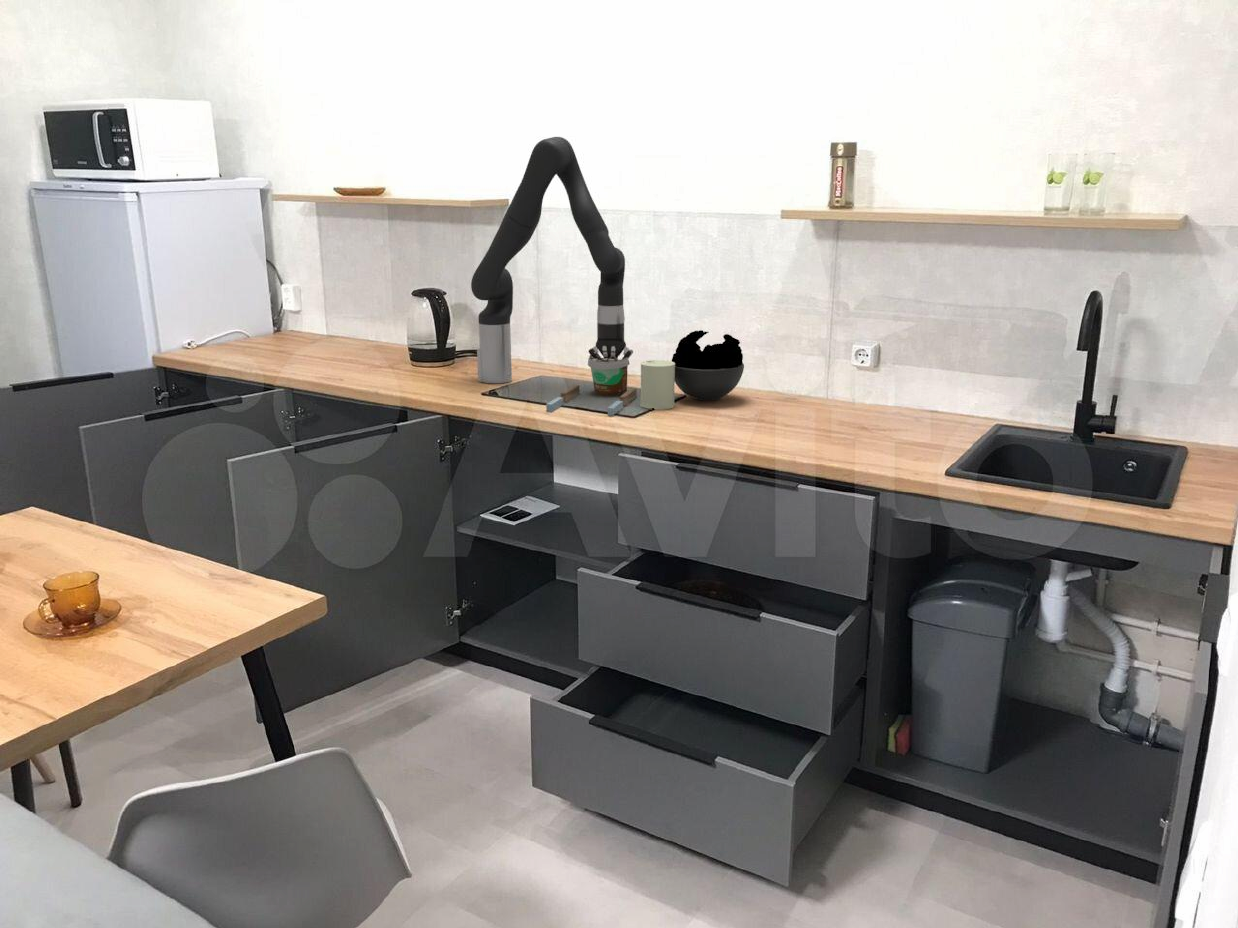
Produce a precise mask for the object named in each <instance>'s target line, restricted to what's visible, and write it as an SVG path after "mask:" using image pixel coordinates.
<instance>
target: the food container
mask: <svg viewBox="0 0 1238 928" xmlns="http://www.w3.org/2000/svg"><path fill="white" fill-rule="evenodd" d="M621 359H622V358H621ZM621 359H619V358H618V359H614V358H603V357H601V358H593V357H592V355H590V354H589V356H588V359H587V360H588V361H587V366H588V367H589V368H590V370H591V372H590V373H591V377H592V381H593V388H594V392H595V394H597V395H599V394H600V395H599V396H605V395H611V396H617V395H618V396H619V395H621V394H622V395H623V394H624V393H626V392H627V391H628V370H629V369H628V368H629V365H630V360H629V359H630V358H629V359H628V357H627V358H625V359H622V360H621Z"/></svg>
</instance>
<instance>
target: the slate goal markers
mask: <svg viewBox="0 0 1238 928" xmlns="http://www.w3.org/2000/svg"><path fill="white" fill-rule="evenodd" d="M562 406H564V403H563V397H561V396H557V397H556V398H554V399H553V400H551V401H549V402H547V403H546V410H545V411H546V412H547V413H553V412H554V411H556V410H558V409H559V408H560V407H562ZM622 408H623V409H624V406H623V401H620V400H616V401H615V402H614V403H613V404H611V405H610V406H608V407H607V416H608V417H614V416H615V415H614V414H615V413H617V412H618V411H619V412H620V411H622V410H623V409H622ZM621 409H622V410H621ZM619 412H618V413H619ZM618 413H617V414H618Z"/></svg>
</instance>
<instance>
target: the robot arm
mask: <svg viewBox="0 0 1238 928" xmlns="http://www.w3.org/2000/svg"><path fill="white" fill-rule="evenodd" d="M578 161H579V160H578V158H577V157H576V152H575V151H574V148H573V145H572V144H571V143H570V142H569V141H568V140H567V139H566V138H564V137H562V136H552V137H548V138H544V139H542V140H539V141H538V142H537V143H536V144H535V145H534V147H533V150H532V151H531V153H530V156H529V160H528V162H527V165H526V169H525V171H524V173H523V177H522V179H521V182H520V183H519V186H518V188H517V190H516V191H515V194H514V195H513V197H512V200H511V202H510V204H509V205H508V208H507V209H506V211H505V214H504V216H503V218H502V219H501V220H502V221H501V223H500V225H499V227H498V230H497V231H496V234H495V235H494V238H493V239H492V241H491V243H490V246H489V248H488V250H486V253H485V255H484V256H483V258H482V260H481V261H480V263H479V264H478V266H477V267H476V269H475V270H474V273H473V275H472V278H471V283H470V288H471V292H472V293H471V294H473V296H474V297H475V298H476V299H478V300H480V301H487V305H486V306H485V308H484V309H483V310H481V311H480V312H479V314H478V317H477V318H478V319H477V320H478V338H479V341H478V342H479V348H478V349H477V350H476V358H477V359H476V360H477V363H476V364H477V382H481V383H486V384H503V383H510V382H511V381H512V380H513V372H512V369H513V368H512V342H511V341H512V338H511V335H512V334H511V316H512V313H513V308H514V307H513V306H514V305H513V304H514V302H513V301H514V300H513V299H514V283H513V277H512V275H511V272H509V270H508V269H507V268H506V267H507V265H508V264H509V262H510V261H511V260H512V259H513V258H514V257H515V256H516V255H518V253H520V252H521V251H522V249H523V248H524V247H526V245H527V244H528V243H529V241H530V240H531V239H532V236H533V235H534V233H535V231H536V228H537V227H538V225H539V222H540V220H541V215H542V209H543V200H544V197H545V194H546V192H547V190H548V187H549V186H550V184H551V182H552V181H553V179H554V178H555V176H557V177H558V178H559V180H560V181H561V183H562V185H563V187H564V189H565V191H566V195H567V199H568V201H569V206H570V211H571V214H572V219H573V220H574V223H575V225H576V227H577V228H578V230H579V233H580V234H581V236H582V238H583V239H584V242H586V244H587V249H588V250H589V253H590V256H591V259H592V260H593V262H594V265H595V267H596V268H597V269H598V271H599V272H600V282H599V285H598V287H597V288H598V289H597V310H596V311H597V312H596V313H597V314H596V321H597V323H596V324H597V326H596V331H597V334H596V337H597V338H596V339H597V340H596V342H595V345H594V346H593V347H591V348H590V349H588V353H589V356H590V355H592V358H614V359H618V360H619V357H620V356H621V354H622V355H623V357H622V358H621V359H620V360H622V359H625V358H627V357H628V359H630V358H631V356H632V354H633V353H634V351H633V350H632V349H630V348H629V347H627V344H626V341H625V320H626V319H625V309H624V282H625V281H624V279H625V271H626V259H625V254H624V253H623V251H622V250H620V248H618V247H615V246H614V243H613V241H612V240H611V237H610V235H609V233H610V232H609V229H608V226H607V224H606V223H605V221H604V219H603V217H602V215H601V213H600V211H599V210H598V207H597V206H596V203H595V202H594V200H593V197H592V195H591V193H590V190H589V188H588V185H587V183H586V180H585V178H584V175H583V173H582V170H581V167H580V165H579V162H578ZM599 353H600V354H601V356H603V357H601V356H600V354H599Z"/></svg>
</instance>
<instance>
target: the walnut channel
mask: <svg viewBox="0 0 1238 928" xmlns="http://www.w3.org/2000/svg"><path fill="white" fill-rule="evenodd" d="M637 391H638V389H637V387H636V388H635V387H631V388H630V389H627V391H626V392H624V393H622V395H620V396H619V401H623V407H626V405H627V404H628V403H629V404H631V403H632V400H633V399H634V398H635V399H636V398H638V396H637V395H638V394H637V393H638V392H637ZM578 394H579V395H580V394H581V393H580V384H573V385H571V386H570V387H569V388H567V389H565V390H564V391H562V392H561V393H560V397H563V402H567V401H568V402H569V400H570V399H571V400H572V398H573V399H574V398H576V397H577V396H579V395H578ZM575 396H576V397H575ZM635 399H634V400H635ZM571 400H570V401H571ZM634 400H633V401H634ZM568 402H567V403H568ZM629 404H628V405H629ZM628 405H627V406H628Z"/></svg>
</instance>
